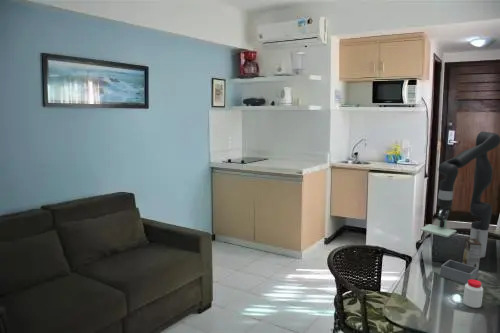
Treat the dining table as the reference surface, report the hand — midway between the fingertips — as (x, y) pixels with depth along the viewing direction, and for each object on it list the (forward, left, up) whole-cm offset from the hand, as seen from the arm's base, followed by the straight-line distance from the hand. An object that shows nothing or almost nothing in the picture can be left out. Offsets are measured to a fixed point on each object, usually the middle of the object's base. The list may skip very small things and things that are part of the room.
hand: (442, 226), depth 244 cm
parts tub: (+15, +16, -21) cm, 31 cm away
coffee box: (-3, +16, -21) cm, 27 cm away
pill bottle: (+40, +31, -21) cm, 55 cm away
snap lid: (+6, 0, -2) cm, 6 cm away
